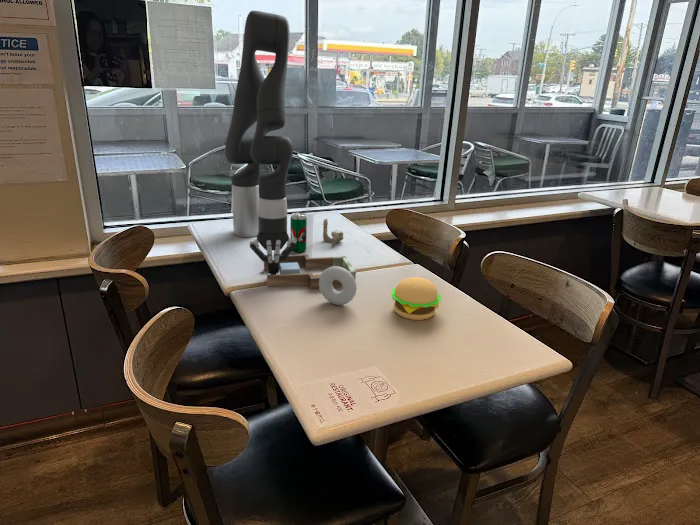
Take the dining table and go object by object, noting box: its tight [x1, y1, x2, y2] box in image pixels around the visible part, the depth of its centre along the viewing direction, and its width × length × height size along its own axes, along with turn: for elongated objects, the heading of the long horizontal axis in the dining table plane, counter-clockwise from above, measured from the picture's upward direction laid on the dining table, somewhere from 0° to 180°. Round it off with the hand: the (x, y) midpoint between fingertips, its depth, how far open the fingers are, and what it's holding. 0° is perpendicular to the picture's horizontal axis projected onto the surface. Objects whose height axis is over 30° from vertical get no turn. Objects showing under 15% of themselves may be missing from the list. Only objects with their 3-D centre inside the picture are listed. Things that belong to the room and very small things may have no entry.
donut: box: [319, 266, 357, 306], centre depth 122 cm, size 10×3×10 cm, turn 65°
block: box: [279, 262, 301, 274], centre depth 137 cm, size 5×5×4 cm
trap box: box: [263, 254, 357, 290], centre depth 139 cm, size 18×24×3 cm
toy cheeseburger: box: [390, 276, 442, 321], centre depth 120 cm, size 12×12×9 cm
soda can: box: [289, 212, 308, 254], centre depth 155 cm, size 5×5×12 cm
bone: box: [322, 218, 344, 247], centre depth 164 cm, size 9×6×10 cm
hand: (273, 274), depth 136 cm, fingers closed
